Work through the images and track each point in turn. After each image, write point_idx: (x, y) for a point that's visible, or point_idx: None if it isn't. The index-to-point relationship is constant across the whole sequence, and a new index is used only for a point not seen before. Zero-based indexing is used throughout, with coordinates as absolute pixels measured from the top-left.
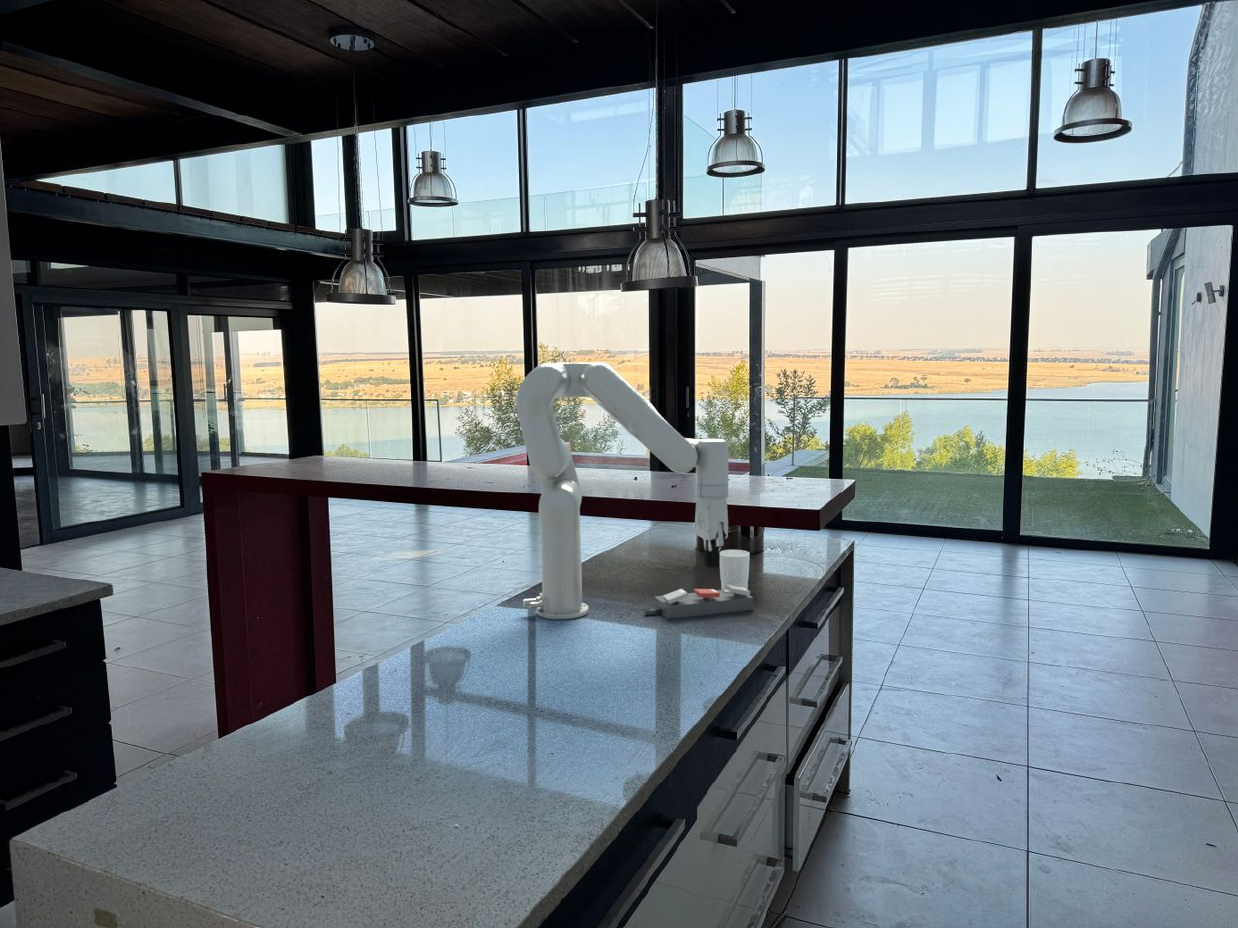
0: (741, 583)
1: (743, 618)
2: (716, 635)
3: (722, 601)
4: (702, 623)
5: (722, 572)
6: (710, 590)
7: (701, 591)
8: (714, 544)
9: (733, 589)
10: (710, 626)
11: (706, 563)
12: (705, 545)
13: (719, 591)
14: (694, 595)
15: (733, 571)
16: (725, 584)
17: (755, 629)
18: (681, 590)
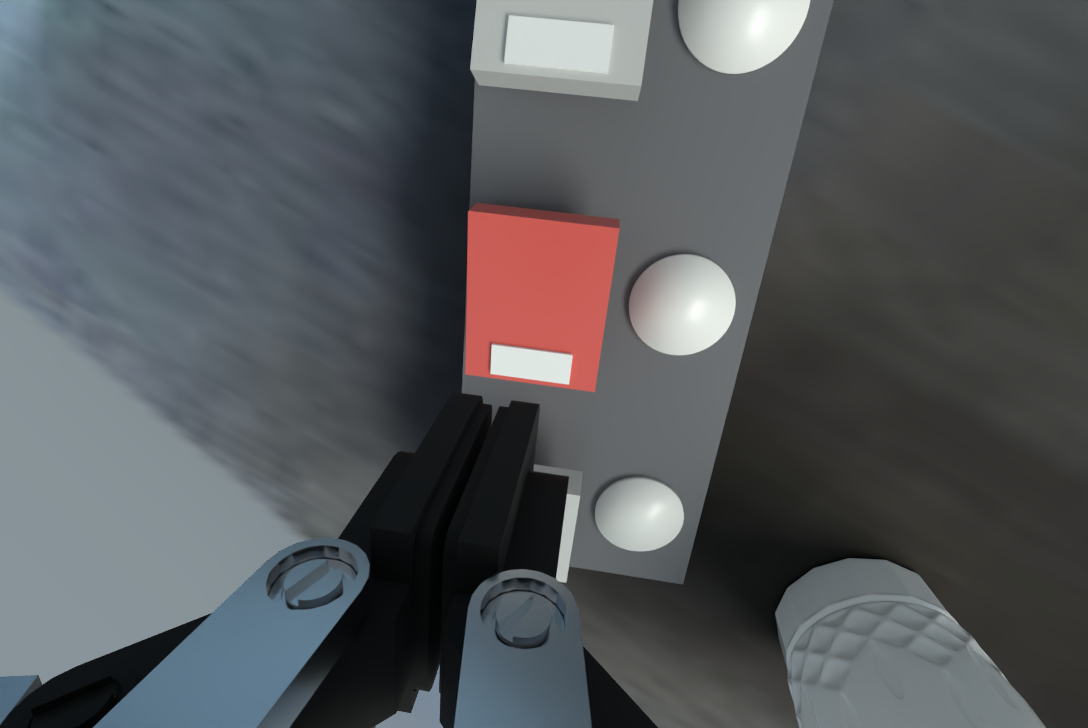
0: (790, 660)
1: (346, 380)
2: (78, 68)
3: (464, 361)
4: (325, 106)
5: (935, 658)
6: (552, 346)
7: (524, 250)
8: (20, 707)
9: None
10: (253, 125)
11: (471, 412)
12: (490, 642)
13: (677, 460)
14: (681, 253)
15: (838, 701)
16: (576, 494)
17: (154, 332)
18: (583, 54)
